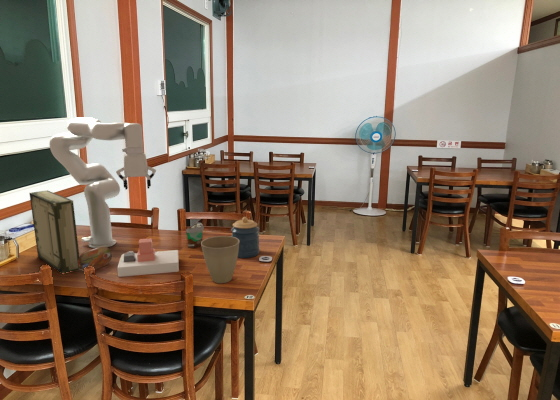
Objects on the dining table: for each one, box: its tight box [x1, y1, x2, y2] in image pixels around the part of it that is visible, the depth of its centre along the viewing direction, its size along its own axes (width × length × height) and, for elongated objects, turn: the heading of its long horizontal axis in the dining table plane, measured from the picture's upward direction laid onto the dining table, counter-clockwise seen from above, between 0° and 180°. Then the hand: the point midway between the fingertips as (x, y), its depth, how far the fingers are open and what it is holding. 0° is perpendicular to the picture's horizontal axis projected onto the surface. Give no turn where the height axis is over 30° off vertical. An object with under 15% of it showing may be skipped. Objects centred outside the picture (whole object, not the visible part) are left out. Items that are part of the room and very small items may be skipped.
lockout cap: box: [137, 238, 156, 262], centre depth 186 cm, size 7×7×8 cm
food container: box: [185, 221, 205, 249], centre depth 216 cm, size 12×6×10 cm, turn 168°
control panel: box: [29, 190, 82, 274], centre depth 190 cm, size 30×8×30 cm, turn 45°
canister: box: [230, 216, 261, 259], centre depth 202 cm, size 13×13×18 cm
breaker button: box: [123, 251, 136, 262], centre depth 186 cm, size 4×4×4 cm
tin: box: [78, 247, 113, 271], centre depth 187 cm, size 15×3×8 cm, turn 148°
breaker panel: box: [117, 249, 180, 278], centre depth 188 cm, size 24×16×6 cm, turn 103°
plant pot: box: [200, 235, 239, 284], centre depth 173 cm, size 15×15×16 cm
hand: (137, 188), depth 201 cm, fingers open, 9 cm apart
